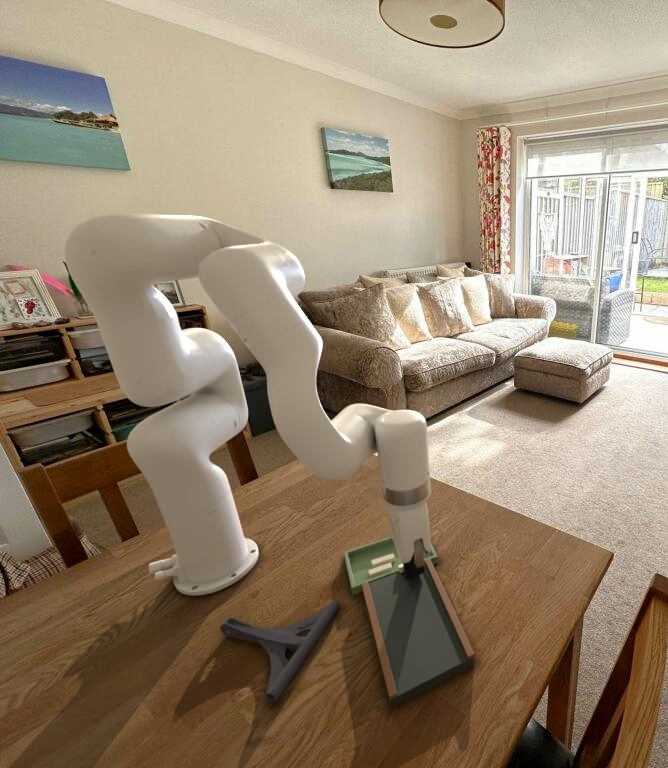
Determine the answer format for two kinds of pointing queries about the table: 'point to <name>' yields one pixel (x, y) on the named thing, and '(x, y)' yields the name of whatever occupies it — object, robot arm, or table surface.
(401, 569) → the chalk
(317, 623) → the bracket
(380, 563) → the chalk
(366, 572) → the tray
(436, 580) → the chalkboard
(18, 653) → the table surface
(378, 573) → the chalk
